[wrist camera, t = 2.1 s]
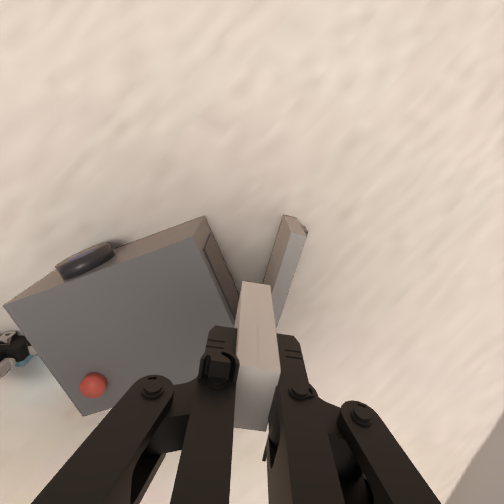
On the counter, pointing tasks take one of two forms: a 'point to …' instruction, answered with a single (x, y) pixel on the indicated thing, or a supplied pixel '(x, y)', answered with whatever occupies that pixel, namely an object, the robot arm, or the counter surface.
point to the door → (284, 261)
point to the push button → (14, 351)
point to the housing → (128, 313)
